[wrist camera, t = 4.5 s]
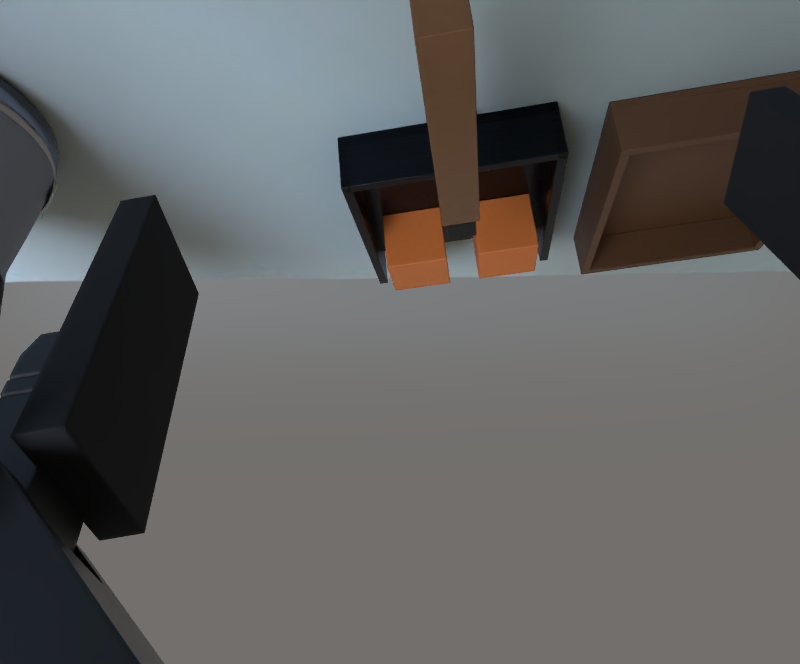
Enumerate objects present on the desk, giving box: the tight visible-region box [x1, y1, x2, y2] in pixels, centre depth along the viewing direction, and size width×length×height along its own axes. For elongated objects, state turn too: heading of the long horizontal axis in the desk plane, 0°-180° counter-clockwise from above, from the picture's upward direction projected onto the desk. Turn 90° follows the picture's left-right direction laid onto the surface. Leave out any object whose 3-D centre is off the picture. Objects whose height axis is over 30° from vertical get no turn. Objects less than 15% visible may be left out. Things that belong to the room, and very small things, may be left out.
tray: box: [574, 71, 800, 274], centre depth 44 cm, size 17×14×4 cm
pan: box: [338, 0, 568, 283], centre depth 36 cm, size 29×13×8 cm, turn 8°
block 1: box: [383, 207, 450, 290], centre depth 46 cm, size 4×4×4 cm
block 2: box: [473, 194, 539, 278], centre depth 46 cm, size 4×4×4 cm
